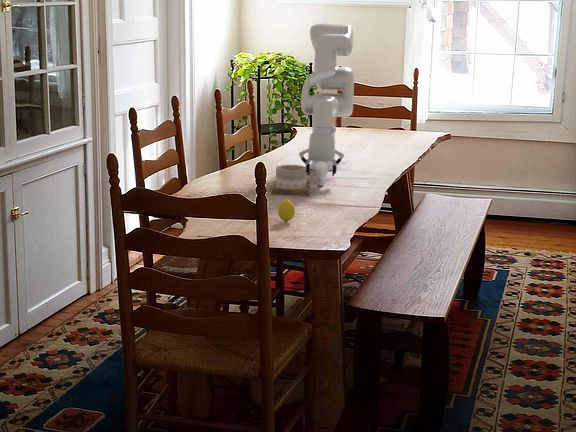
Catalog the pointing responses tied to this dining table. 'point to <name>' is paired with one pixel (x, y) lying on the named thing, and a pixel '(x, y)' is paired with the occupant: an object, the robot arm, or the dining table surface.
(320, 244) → the dining table surface
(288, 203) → the lemon
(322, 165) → the lightbulb
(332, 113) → the robot arm
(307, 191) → the socket
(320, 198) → the dining table surface
